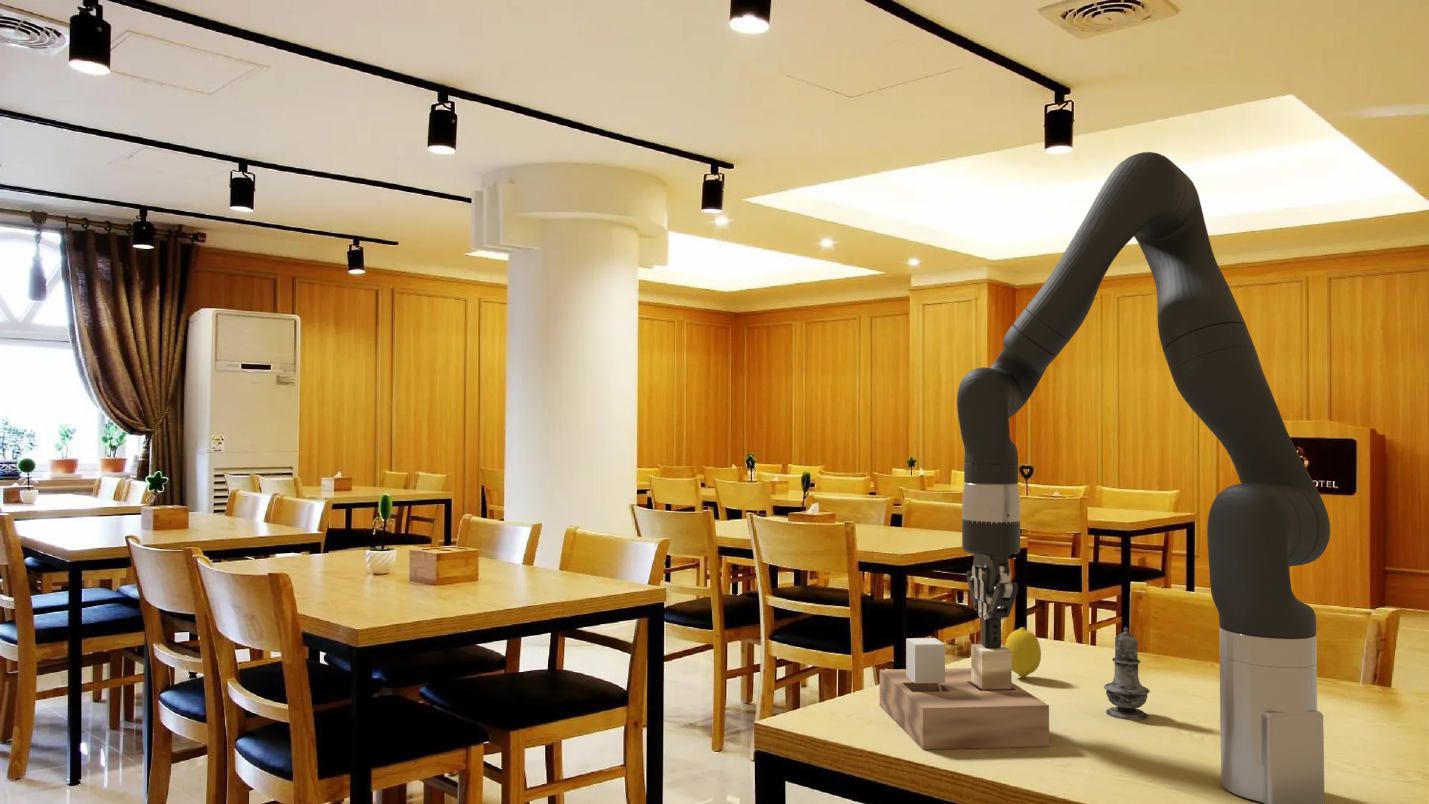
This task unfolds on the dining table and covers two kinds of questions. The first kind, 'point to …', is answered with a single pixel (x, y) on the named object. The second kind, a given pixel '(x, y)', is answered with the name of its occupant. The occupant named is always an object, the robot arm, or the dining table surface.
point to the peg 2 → (991, 667)
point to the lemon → (1024, 651)
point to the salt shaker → (1126, 680)
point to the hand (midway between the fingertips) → (991, 647)
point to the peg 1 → (925, 660)
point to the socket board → (963, 712)
